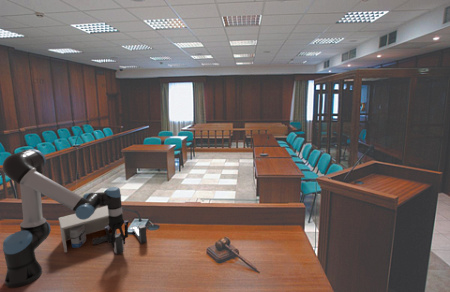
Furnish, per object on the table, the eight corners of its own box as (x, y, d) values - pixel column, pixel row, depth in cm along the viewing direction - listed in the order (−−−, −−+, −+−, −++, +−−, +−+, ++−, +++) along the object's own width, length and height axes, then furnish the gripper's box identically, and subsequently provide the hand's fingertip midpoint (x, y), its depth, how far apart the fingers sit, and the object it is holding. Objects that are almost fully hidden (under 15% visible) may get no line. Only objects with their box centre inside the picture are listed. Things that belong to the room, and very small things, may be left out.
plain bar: (146, 242, 164) (145, 226, 162) (141, 244, 162) (140, 228, 160) (136, 230, 180) (135, 215, 178) (131, 231, 178) (130, 216, 176)
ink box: (79, 247, 159) (77, 230, 157) (71, 247, 160) (69, 230, 157) (86, 240, 168) (84, 223, 166) (79, 240, 168) (77, 223, 166)
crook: (123, 252, 153) (121, 235, 151) (100, 260, 145) (98, 242, 143) (113, 237, 170) (112, 221, 168) (93, 243, 162) (91, 227, 160)
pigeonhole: (117, 236, 172) (115, 213, 169) (64, 252, 154) (61, 228, 151) (111, 226, 185) (108, 205, 182) (62, 240, 168) (58, 217, 164)
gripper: (128, 207, 156) (131, 242, 161) (98, 215, 146) (102, 252, 151) (132, 212, 150) (135, 248, 155) (101, 220, 141) (105, 259, 145)
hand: (119, 250), depth 153 cm, fingers closed on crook, 3 cm apart
